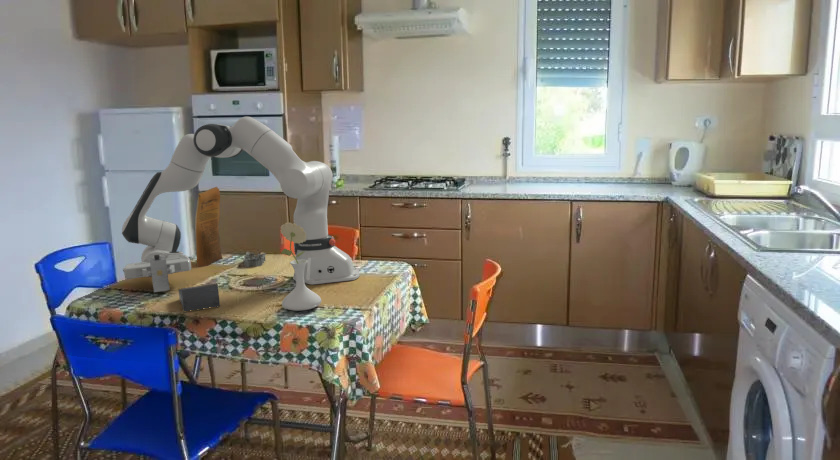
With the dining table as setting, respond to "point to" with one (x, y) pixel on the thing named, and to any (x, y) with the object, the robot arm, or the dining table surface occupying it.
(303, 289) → the flower in vase
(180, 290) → the block
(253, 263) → the grey building model
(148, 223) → the robot arm
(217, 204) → the pancake mix bag
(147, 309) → the dining table surface
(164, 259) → the block
